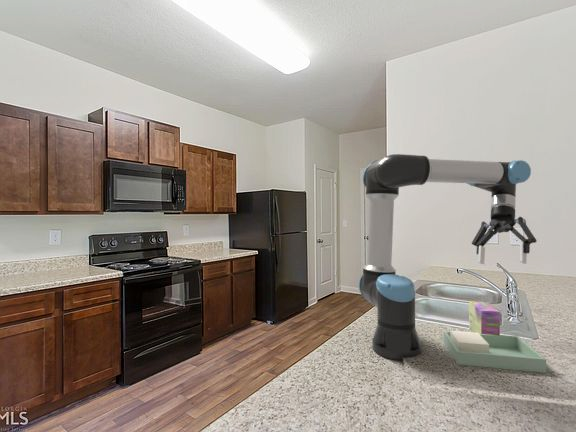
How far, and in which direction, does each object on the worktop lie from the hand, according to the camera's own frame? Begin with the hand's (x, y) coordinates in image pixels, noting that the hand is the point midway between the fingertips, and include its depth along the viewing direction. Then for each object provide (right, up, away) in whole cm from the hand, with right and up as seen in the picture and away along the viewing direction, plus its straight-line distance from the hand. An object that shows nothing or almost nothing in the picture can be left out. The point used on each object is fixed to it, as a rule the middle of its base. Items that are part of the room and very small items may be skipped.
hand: (500, 262), depth 107 cm
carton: (-20, -26, -15) cm, 36 cm away
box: (-8, -26, -3) cm, 28 cm away
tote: (-15, -26, -16) cm, 34 cm away
